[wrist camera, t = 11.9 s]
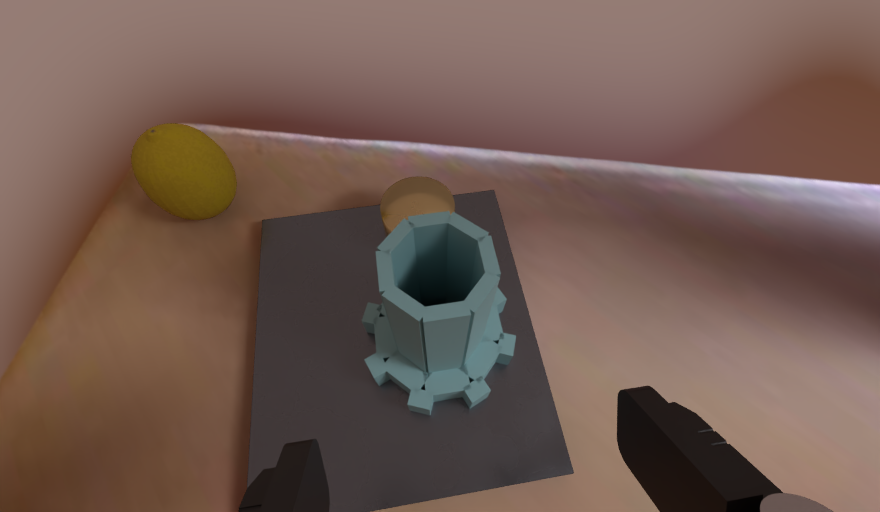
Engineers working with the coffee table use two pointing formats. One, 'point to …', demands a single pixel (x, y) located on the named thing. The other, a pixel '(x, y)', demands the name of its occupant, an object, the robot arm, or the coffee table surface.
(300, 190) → the coffee table surface
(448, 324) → the teal octagonal tube
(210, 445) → the coffee table surface
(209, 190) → the lemon
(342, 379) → the carrier plate
